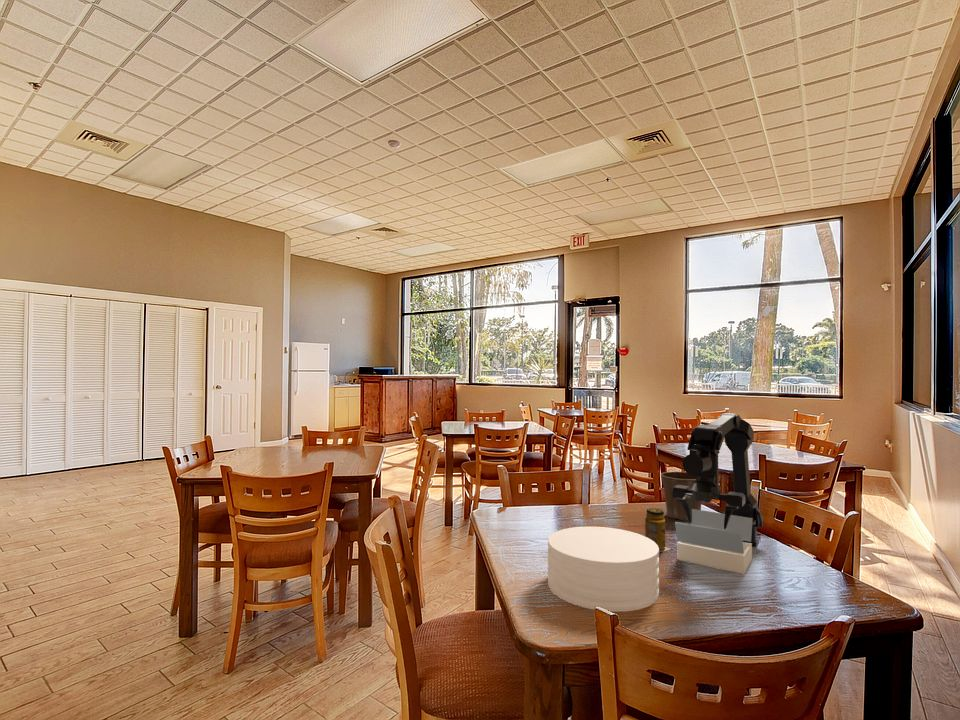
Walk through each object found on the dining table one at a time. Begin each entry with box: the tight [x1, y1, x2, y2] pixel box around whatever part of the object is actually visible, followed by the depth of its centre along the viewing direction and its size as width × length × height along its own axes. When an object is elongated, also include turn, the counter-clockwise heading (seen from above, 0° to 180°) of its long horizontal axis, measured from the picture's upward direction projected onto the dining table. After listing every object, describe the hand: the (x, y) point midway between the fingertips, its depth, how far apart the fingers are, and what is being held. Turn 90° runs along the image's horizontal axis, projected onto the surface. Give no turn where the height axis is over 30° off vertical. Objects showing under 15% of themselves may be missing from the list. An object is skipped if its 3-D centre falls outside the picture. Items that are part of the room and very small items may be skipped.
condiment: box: [644, 507, 672, 553], centre depth 162 cm, size 7×8×12 cm
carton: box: [676, 541, 753, 575], centre depth 151 cm, size 13×18×5 cm
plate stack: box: [547, 526, 660, 613], centre depth 132 cm, size 28×28×12 cm
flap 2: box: [674, 521, 744, 554], centre depth 145 cm, size 7×18×1 cm
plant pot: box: [660, 471, 702, 522], centre depth 198 cm, size 16×16×16 cm
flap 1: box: [689, 509, 753, 542], centre depth 158 cm, size 7×18×1 cm
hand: (707, 525), depth 145 cm, fingers open, 9 cm apart
